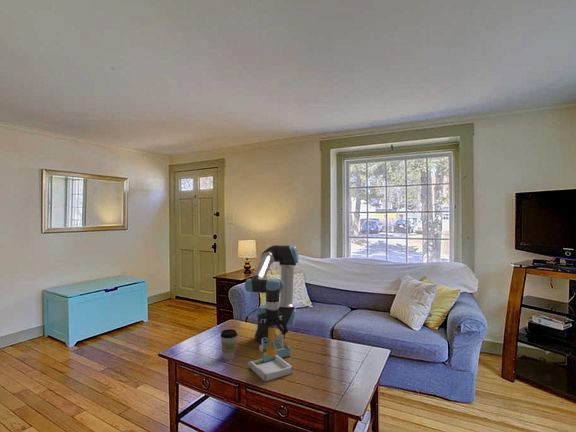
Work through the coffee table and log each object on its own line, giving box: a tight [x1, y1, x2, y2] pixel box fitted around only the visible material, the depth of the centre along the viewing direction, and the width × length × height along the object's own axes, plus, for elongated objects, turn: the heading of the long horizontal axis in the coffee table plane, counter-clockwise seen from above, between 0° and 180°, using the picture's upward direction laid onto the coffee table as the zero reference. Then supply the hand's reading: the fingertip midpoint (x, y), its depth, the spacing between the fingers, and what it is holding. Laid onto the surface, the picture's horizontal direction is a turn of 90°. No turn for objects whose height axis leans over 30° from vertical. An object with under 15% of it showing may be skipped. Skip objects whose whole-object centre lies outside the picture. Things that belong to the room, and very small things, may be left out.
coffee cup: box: [220, 328, 238, 360], centre depth 182 cm, size 10×10×15 cm
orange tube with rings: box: [263, 325, 282, 357], centre depth 167 cm, size 12×10×15 cm
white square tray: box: [246, 355, 294, 383], centre depth 169 cm, size 17×21×4 cm
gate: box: [262, 345, 292, 363], centre depth 181 cm, size 18×2×6 cm, turn 122°
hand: (271, 348), depth 167 cm, fingers closed on orange tube with rings, 12 cm apart
